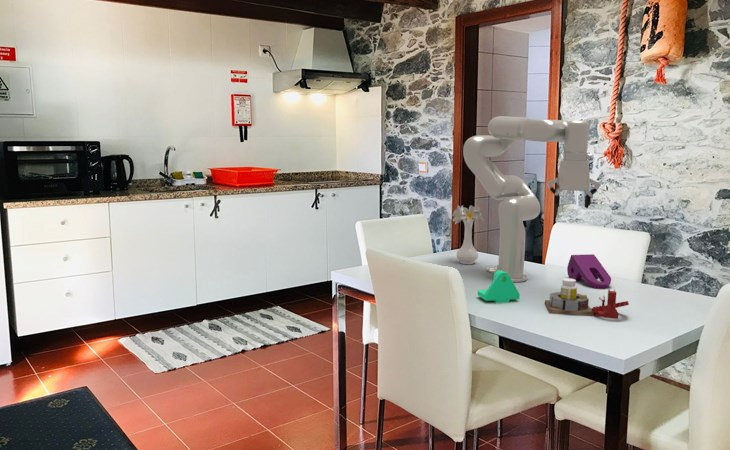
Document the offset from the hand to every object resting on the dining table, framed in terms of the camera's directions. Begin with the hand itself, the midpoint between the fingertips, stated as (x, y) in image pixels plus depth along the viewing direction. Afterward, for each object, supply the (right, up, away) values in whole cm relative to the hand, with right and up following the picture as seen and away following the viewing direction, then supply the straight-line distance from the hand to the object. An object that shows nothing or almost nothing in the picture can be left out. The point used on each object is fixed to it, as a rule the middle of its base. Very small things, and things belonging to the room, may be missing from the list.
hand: (571, 207), depth 211 cm
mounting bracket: (+13, -28, +19) cm, 37 cm away
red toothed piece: (+4, -34, -22) cm, 41 cm away
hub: (-7, -32, -17) cm, 37 cm away
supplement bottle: (-7, -32, -16) cm, 37 cm away
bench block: (-7, -33, -16) cm, 37 cm away
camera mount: (-27, -32, -5) cm, 42 cm away
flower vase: (-28, -23, +52) cm, 63 cm away
